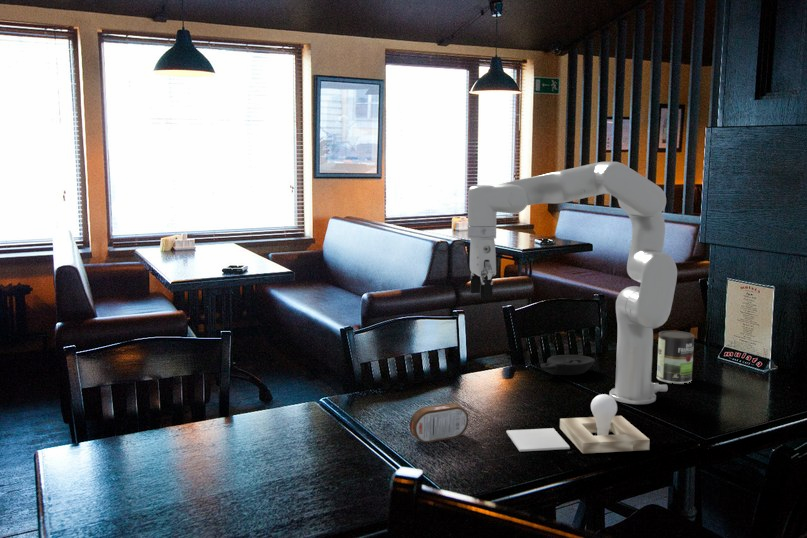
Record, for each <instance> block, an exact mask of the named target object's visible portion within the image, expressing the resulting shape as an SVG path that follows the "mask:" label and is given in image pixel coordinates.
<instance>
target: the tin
mask: <svg viewBox="0 0 807 538" xmlns="http://www.w3.org/2000/svg"><path fill="white" fill-rule="evenodd" d="M469 419H470V418H469V414H468V411H467V410H465V408H464V407H463V406H462V405H460V404H458V403H455V402H450V403H443V404H438V405H430V406H424V407H421V408H419V409H417V410H416V411H415V412H414V413H413V414H412V417H411V418H410V421H409V431H410V433H411V435H412V436H413V437H414V438H416V440H418V441H420V442H422V443H426V444H427V443H433V442H434V443H435V442H438V441H445V440H449V439H450V440H451V439H456V438H459V437H460V436H462V434H464V433H465V432H466V430H467V428H468V425H469V421H470V420H469Z"/></svg>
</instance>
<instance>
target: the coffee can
mask: <svg viewBox="0 0 807 538" xmlns="http://www.w3.org/2000/svg"><path fill="white" fill-rule="evenodd" d="M694 345H695V334H693V333H691V332H688V331H682V330H681V331H680V330H662V331H659V332H658V344H657V363H656V364H657V366H656V367H657V370H656V379H657V380H658V381H660V382H664V383H668V384H672V383H673V384H674V385H685V384H684V383H687V384H690V383H692V382H691V381H693V366H694V365H693V364H694V349H695V348H694V347H695V346H694ZM689 382H690V383H689Z"/></svg>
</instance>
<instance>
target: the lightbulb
mask: <svg viewBox="0 0 807 538" xmlns="http://www.w3.org/2000/svg"><path fill="white" fill-rule="evenodd" d="M590 410H591V412H592V415H593V417H595V419H596V426H597V433H596V434H597V436H598V435H609V433H610V432H609V429H610V424H611V421H612V419H613V417H614V416H616V414H617V412H618V403H617V401H616V400H614V399H613V398H612V397H611V396H610V395H609V394H606V393H604V394H603V393H602V394H601V393H600V394H598V395H596V396H595V397H594V398H593V399H592V400H591V403H590Z"/></svg>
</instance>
